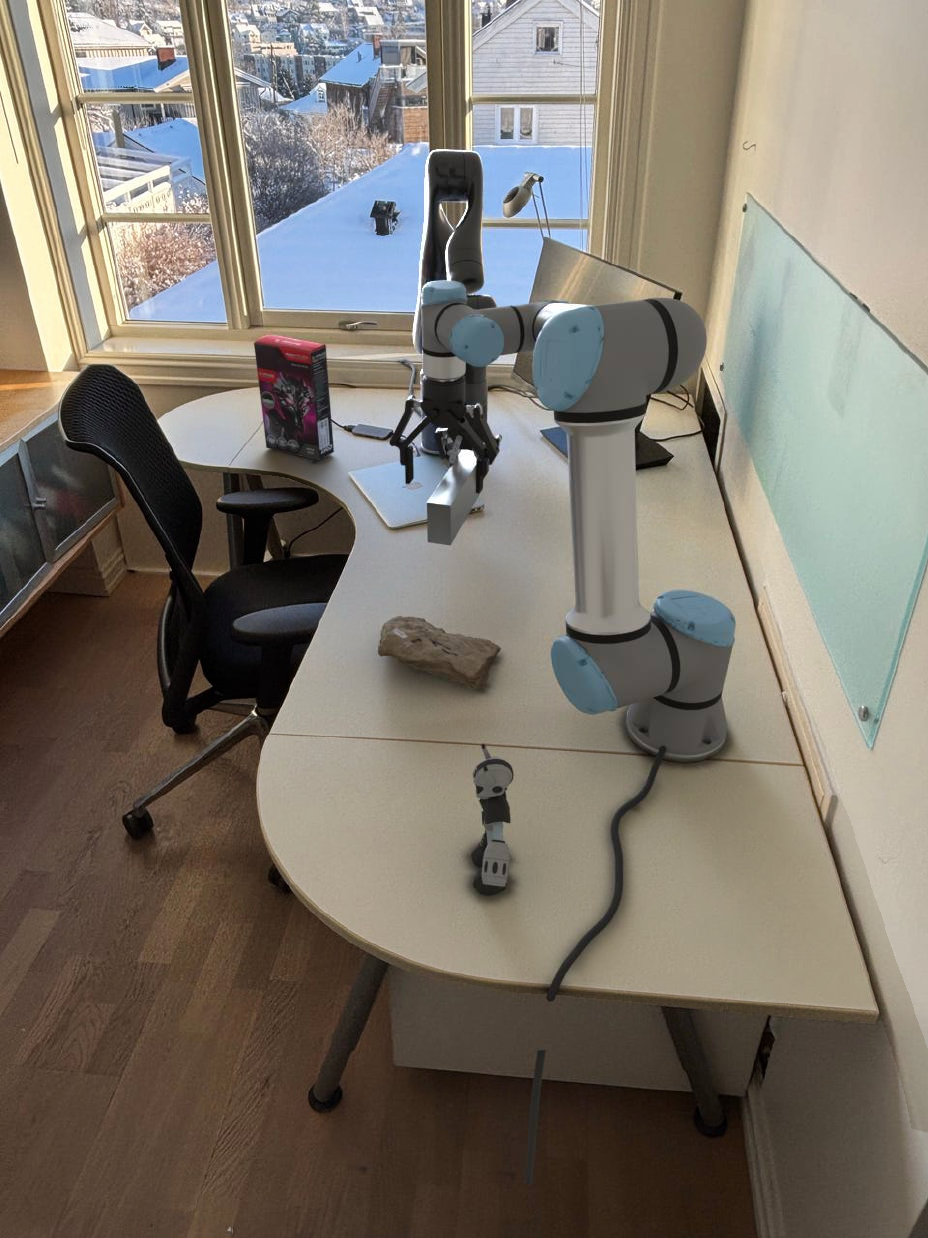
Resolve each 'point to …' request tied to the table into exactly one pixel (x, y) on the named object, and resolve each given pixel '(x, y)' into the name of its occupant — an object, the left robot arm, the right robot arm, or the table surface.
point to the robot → (492, 823)
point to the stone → (438, 651)
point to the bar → (452, 500)
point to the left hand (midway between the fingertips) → (467, 479)
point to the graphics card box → (294, 396)
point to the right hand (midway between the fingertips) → (444, 485)
